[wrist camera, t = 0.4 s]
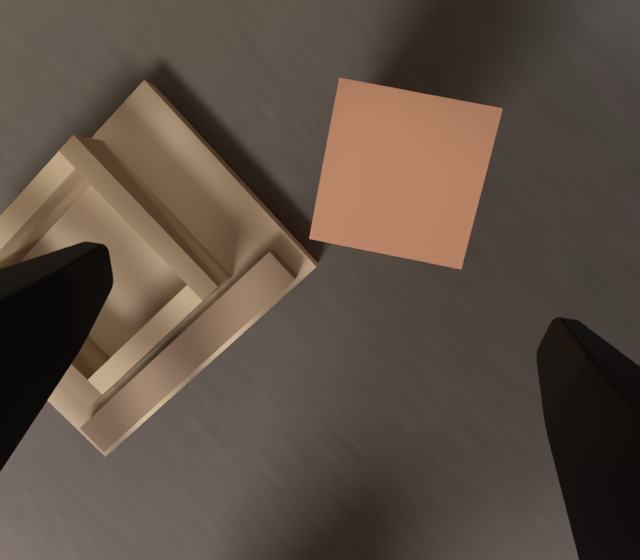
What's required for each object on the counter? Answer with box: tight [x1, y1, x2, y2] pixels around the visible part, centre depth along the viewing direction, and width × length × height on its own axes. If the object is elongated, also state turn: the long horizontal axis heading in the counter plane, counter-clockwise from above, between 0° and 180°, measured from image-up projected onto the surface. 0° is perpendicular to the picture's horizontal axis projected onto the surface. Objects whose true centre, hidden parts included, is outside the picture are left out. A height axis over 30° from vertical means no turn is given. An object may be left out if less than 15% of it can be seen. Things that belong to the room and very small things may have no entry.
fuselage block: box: [309, 78, 503, 269], centre depth 18 cm, size 4×4×12 cm
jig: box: [0, 80, 318, 457], centre depth 24 cm, size 16×12×4 cm
